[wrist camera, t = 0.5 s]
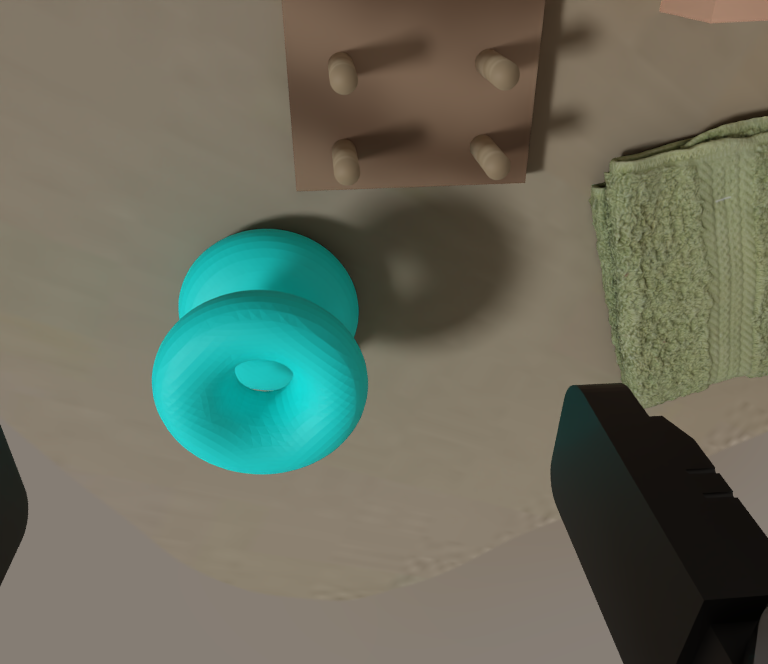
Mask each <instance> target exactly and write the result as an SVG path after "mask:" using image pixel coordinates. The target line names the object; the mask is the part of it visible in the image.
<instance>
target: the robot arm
mask: <svg viewBox="0 0 768 664" xmlns="http://www.w3.org/2000/svg"><path fill="white" fill-rule="evenodd" d="M551 487H552V492H553V497H554V500H555V503H556V506H557V509H558V511H559V513H560V516H561V518H562V520H563V523H564V525H565V527H566V530H567V532H568V534H569V537H570V539H571V541H572V544H573V546H574V548H575V551H576V553H577V555H578V558H579V560H580V562H581V565H582V567H583V570H584V572H585V574H586V577H587V579H588V581H589V584H590V586H591V588H592V591H593V593H594V595H595V598H596V600H597V602H598V605H599V607H600V610H601V612H602V614H603V616H604V619H605V621H606V624H607V626H608V628H609V631H610V633H611V635H612V638H613V640H614V642H615V645H616V647H617V649H618V651H619V654H620V657H621V659H622V661H623V663H624V664H768V538H767V536H766V535H765V534H764V533H763V531H762V530H761V528H760V527H759V526H758V524H757V523H756V522H755V520H754V519H753V518H752V516H751V515H750V514H749V512H748V511H747V510H746V508H745V507H744V506H743V505H742V503H741V502H740V500H739V499H738V498H734V497H733V491H732V490H731V488H730V487H729V486H728V484H727V483H726V482H725V480H724V479H723V478H722V476H721V475H720V474H719V473H716V472H715V467H714V465H713V464H712V463H711V461H710V460H709V459H708V457H707V456H706V455H705V453H704V452H703V451H702V449H701V448H700V447H699V445H698V444H697V443H696V441H695V440H694V439H693V438H691V437H690V436H689V435H687V434H686V433H685V432H683V431H682V430H681V429H679V428H678V427H677V426H675V425H674V424H672V423H671V422H670V421H668V420H667V419H666V418H664V417H663V416H652V417H649V416H648V414H647V413H646V411H645V410H644V409H643V407H642V406H641V404H640V403H639V401H638V400H637V398H636V397H635V396H634V394H633V393H632V391H631V390H630V389H629V387H628V386H626V385H625V384H623V383H611V384H589V385H572V386H570V387H569V388H568V390H567V392H566V394H565V398H564V402H563V407H562V412H561V417H560V422H559V427H558V432H557V437H556V441H555V446H554V451H553V456H552V461H551ZM27 519H28V499H27V494H26V491H25V488H24V485H23V483H22V480H21V477H20V475H19V472H18V470H17V467H16V464H15V462H14V459H13V456H12V454H11V451H10V449H9V446H8V444H7V441H6V438H5V436H4V433H3V430H2V428H1V425H0V585H1V583H2V581H3V579H4V577H5V575H6V573H7V570H8V568H9V566H10V564H11V562H12V560H13V557H14V555H15V553H16V551H17V549H18V547H19V545H20V542H21V541H22V538H23V536H24V533H25V529H26V525H27Z"/></svg>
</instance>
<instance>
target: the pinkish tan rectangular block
mask: <svg viewBox="0 0 768 664" xmlns="http://www.w3.org/2000/svg"><path fill="white" fill-rule="evenodd" d="M660 12H663V13H668V14H672V15H677V16H681V17H686V18H690V19H695V20H699V21H703V22H708V23H724V22H744V21H764V20H768V0H661V6H660Z"/></svg>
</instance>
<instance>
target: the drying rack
mask: <svg viewBox="0 0 768 664" xmlns="http://www.w3.org/2000/svg"><path fill="white" fill-rule="evenodd" d="M544 8H545V0H282V10H283V23H284V36H285V49H286V61H287V74H288V87H289V100H290V113H291V125H292V138H293V151H294V164H295V176H296V189H297V191H319V190H346V189H373V188H399V187H426V186H453V185H479V184H506V183H525V178H526V169H527V160H528V151H529V142H530V134H531V125H532V116H533V107H534V98H535V89H536V80H537V71H538V62H539V53H540V44H541V35H542V26H543V17H544Z"/></svg>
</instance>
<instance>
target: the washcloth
mask: <svg viewBox="0 0 768 664" xmlns="http://www.w3.org/2000/svg"><path fill="white" fill-rule="evenodd" d="M609 170H610V171H609V172H608V173H607V172H604V175H605V176H604V178H605V182H604V183H602V184H596V185H592V186H591V198H590V199H589V202H590V204H591V209H592V217H593V223H592V225H594V229H595V231H596V234H597V235H596V237H597V240H598V241H597V243H596V246H597V250H598V254H599V259H600V262H601V268H602V274H603V275H602V277H603V279H602V281H603V289H604V291H605V298H606V301H605V302H606V304H607V305H608V306H607V308H608V309H609V324H610V325H611V326H612V327H611V328H612V330H611V334H612V337H611V339H612V343H613V344H614V345H615V348H616V350H615V352H616V356H617V364H618V365H619V367H620V370H621V381H622V383H623V384H625V385H626V386H628V387H629V389H630V390H631V391H632V393H633V394H634V396H635V397H636V398H637V400H638V401H639V403H640V404H641V406H642V407H643V409H645V408H649V407H652V406H656V405H658V404H662V403H664V402H665V401H668V400H675V399H677V398H678V397H680V396H681V397H685V396H686V395H690V394H691V393H695V392H697V393H698V392H701V391H704V390H706V389H707V388H708V386H709V385H711V384H713V383H718V382H722V381H724V380H728V379H732V378H734V377H740V376H747V377H749V378H753V377H762V376H765V375H768V116H764V117H758V118H752V119H749V120H743V121H738V122H735V123H730V124H725V125H722V126H719V127H717V128H715V129H712V130H709V131H706V132H704V133H702V134H699V135H697V136H696V137H694V138H690V139H686V140H681V141H677V142H674V143H670V144H667V145H664V146H661V147H658V148H654V149H652V150H647V151H645V152H642V153H638V154H634V155H627V156H622V157H618V158H613V159H612V160H611V161H610V166H609Z"/></svg>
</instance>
